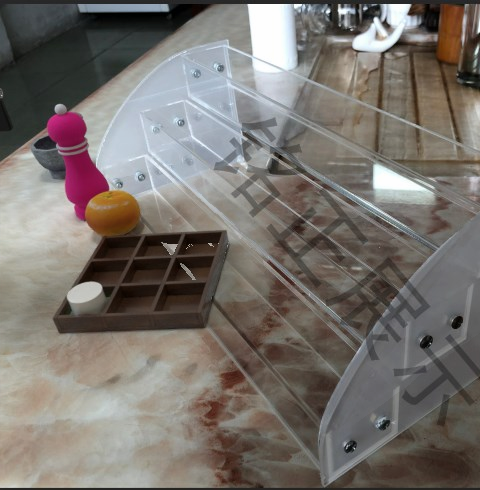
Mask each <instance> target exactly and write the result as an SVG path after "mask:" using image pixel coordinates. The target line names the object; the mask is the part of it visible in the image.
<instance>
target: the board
mask: <svg viewBox="0 0 480 490" xmlns="http://www.w3.org/2000/svg"><path fill="white" fill-rule="evenodd" d="M161 242H163V243H167V244H178V245H177V247H176V249H175V252H174V254H173V255H170V254H169V252H168V251H167V249H166V248H165V247H164V246H163V244H162V243H161ZM228 242H229V243H230V240H229V235H228V231H227V230H226V229H218V230H217V229H214V230H198V231H197V230H195V231H175V232H156V233H155V232H154V233H152V232H151V233H136V234H135V233H134V234H133V233H132V234H124V235H111V236H102V238H101V239H100V241H99V242H98V244H97V246H96V247H95V249H94V250H93V252H92V254H91V256H90V257H89V258H88V260H87V261H86V264H85V265H84V266H83V268H82V270H81V271H80V273H79V274H78V276H77V277H76V279H75V280H74V283H73V285H72V286H71V287H70V289H69V291H70V290H71V289H72V288H74V287H75V286H77V285H79V284H82V283H85V282H97V283H99V284H101V285H102V288H103V291H104V293H105V296H106V299H107V304H106V306H105V308H104V309H103V311H102V313H101V314H78V315H74V314H73V312H72V309H71V307H70V304H69V302H68V300H67V295H65V297H64V299H63V300H62V302H61V304H60V305H59V307H58V308H57V310H56V312H55V313H54V315H53V317H52V320H53V323H54V325H55V327H56V330H57V332H58V334H62V333H64V334H65V333H89V332H119V331H120V332H121V331H143V330H144V331H145V330H172V329H173V330H174V329H198V328H205V327H206V323H207V320H208V318H209V314H210V309H211V307H212V304H213V301H212V302H211V297H212V296H213V295H214V296H215V293H216V290H217V286H218V283H219V280H220V276H221V273H220V272H222V269H223V266H222V265H224V263H223V260H224V261H225V259H224V256H225V252H226V249H227V245H228ZM208 243H212V245H213V246H214V247H213V246H210V245H209V244H208ZM218 243H219V244H218ZM189 244H190V245H189ZM191 244H192V245H193V246H192V245H191ZM188 245H189V246H190V247H189V246H188ZM187 247H188V248H187ZM186 248H187V249H186ZM227 250H228V249H227ZM226 253H227V252H226ZM225 257H226V256H225ZM180 263H182V264H184V265H185V266H186V267H187V268H188V269H189V270H190V271H191V273H192V274H193V276H194V277H195V279H196V280H192V278H191V277H190V276H189V275H188V274H187V273H186V271H185V270H184V269H183V268H182V267H181V265H180ZM221 268H222V269H221ZM219 275H220V276H219ZM218 279H219V280H218ZM215 289H216V290H215Z"/></svg>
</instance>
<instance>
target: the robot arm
mask: <svg viewBox="0 0 480 490" xmlns="http://www.w3.org/2000/svg"><path fill="white" fill-rule="evenodd" d="M3 98H4V92H3V89H2V88H1V87H0V132H11V131H12V130H14V125H13V122H12V120H11V117H10V115H9V112H8V109H7V107H6V104H5V102H4V99H3Z"/></svg>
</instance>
